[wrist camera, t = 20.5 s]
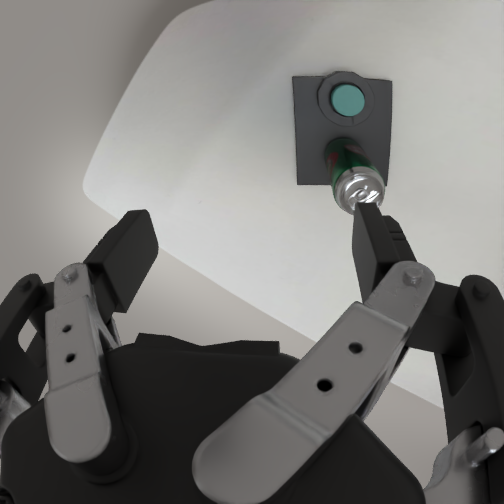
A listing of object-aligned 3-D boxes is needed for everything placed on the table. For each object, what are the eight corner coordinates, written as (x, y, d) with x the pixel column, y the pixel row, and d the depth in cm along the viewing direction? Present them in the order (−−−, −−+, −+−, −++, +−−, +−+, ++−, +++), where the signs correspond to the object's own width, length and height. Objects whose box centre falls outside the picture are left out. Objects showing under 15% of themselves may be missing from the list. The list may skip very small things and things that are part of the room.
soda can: (371, 156, 36) (398, 196, 26) (343, 182, 38) (359, 229, 29) (343, 128, 34) (363, 158, 25) (315, 155, 37) (322, 195, 27)
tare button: (330, 83, 30) (332, 84, 29) (361, 84, 30) (364, 86, 28) (331, 113, 32) (332, 115, 31) (361, 114, 32) (364, 117, 30)
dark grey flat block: (292, 70, 32) (292, 71, 30) (389, 74, 30) (397, 76, 28) (297, 181, 40) (297, 190, 38) (384, 183, 39) (390, 192, 36)
